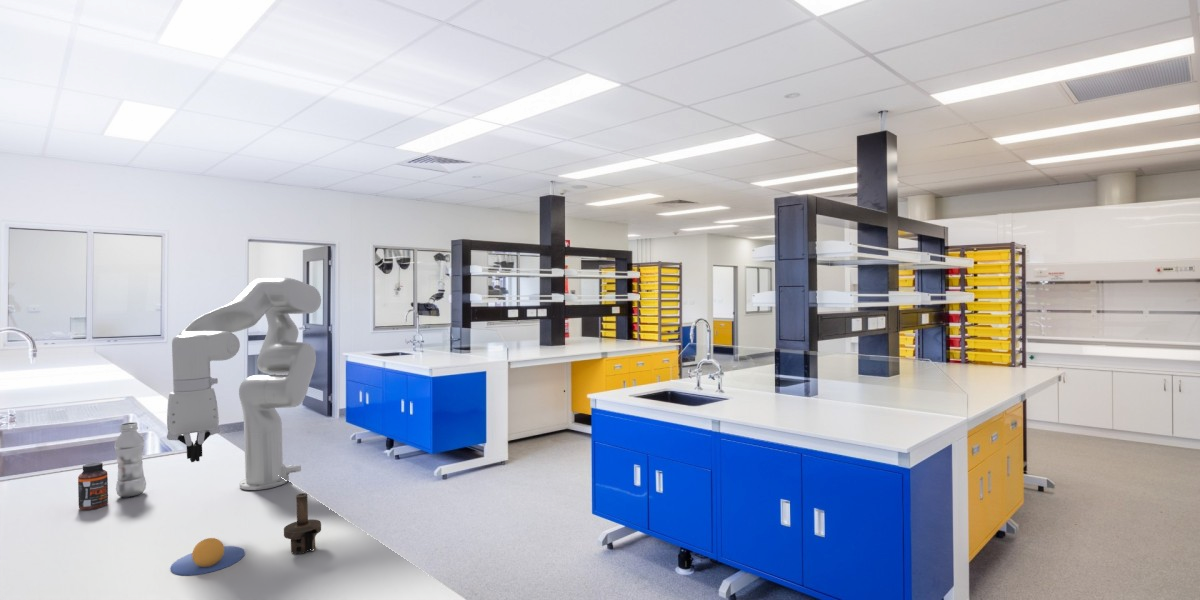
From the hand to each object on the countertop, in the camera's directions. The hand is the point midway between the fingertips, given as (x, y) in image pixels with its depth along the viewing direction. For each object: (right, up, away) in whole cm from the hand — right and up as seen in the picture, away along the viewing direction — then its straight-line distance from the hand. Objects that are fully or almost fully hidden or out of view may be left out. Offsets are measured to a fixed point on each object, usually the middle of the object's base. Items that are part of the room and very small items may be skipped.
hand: (194, 460), depth 147 cm
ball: (+18, -13, -23) cm, 32 cm away
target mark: (+17, -15, -21) cm, 31 cm away
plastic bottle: (-31, -15, +20) cm, 40 cm away
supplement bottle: (-34, -16, +12) cm, 39 cm away
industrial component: (+34, -15, -16) cm, 40 cm away
